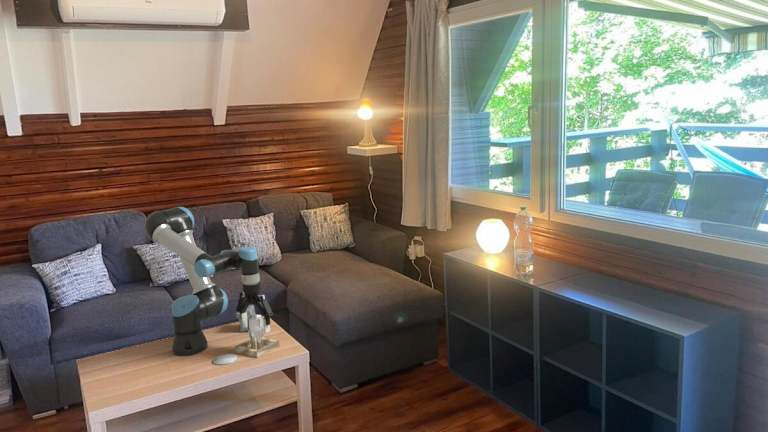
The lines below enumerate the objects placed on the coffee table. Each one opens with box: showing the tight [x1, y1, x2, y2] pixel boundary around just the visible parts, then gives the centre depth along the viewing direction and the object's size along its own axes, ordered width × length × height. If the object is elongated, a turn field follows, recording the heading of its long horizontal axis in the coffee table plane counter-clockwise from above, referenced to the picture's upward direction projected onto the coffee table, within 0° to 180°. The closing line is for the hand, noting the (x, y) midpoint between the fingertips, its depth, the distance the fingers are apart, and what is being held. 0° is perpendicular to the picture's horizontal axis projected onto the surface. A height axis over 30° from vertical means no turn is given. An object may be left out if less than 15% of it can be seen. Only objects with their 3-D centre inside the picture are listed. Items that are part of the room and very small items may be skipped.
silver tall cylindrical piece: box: [247, 313, 265, 350], centre depth 268 cm, size 7×7×15 cm
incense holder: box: [235, 304, 257, 333], centre depth 295 cm, size 10×8×10 cm
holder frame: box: [234, 336, 281, 358], centre depth 270 cm, size 14×14×2 cm
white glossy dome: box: [212, 353, 238, 366], centre depth 260 cm, size 10×10×1 cm
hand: (256, 329), depth 268 cm, fingers open, 13 cm apart
